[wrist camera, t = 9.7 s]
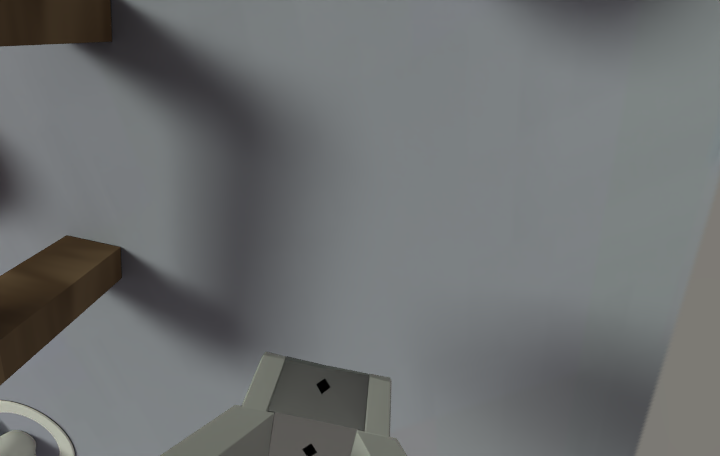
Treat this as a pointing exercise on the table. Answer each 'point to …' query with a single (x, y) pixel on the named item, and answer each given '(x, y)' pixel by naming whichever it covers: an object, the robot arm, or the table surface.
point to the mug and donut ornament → (18, 448)
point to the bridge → (70, 254)
